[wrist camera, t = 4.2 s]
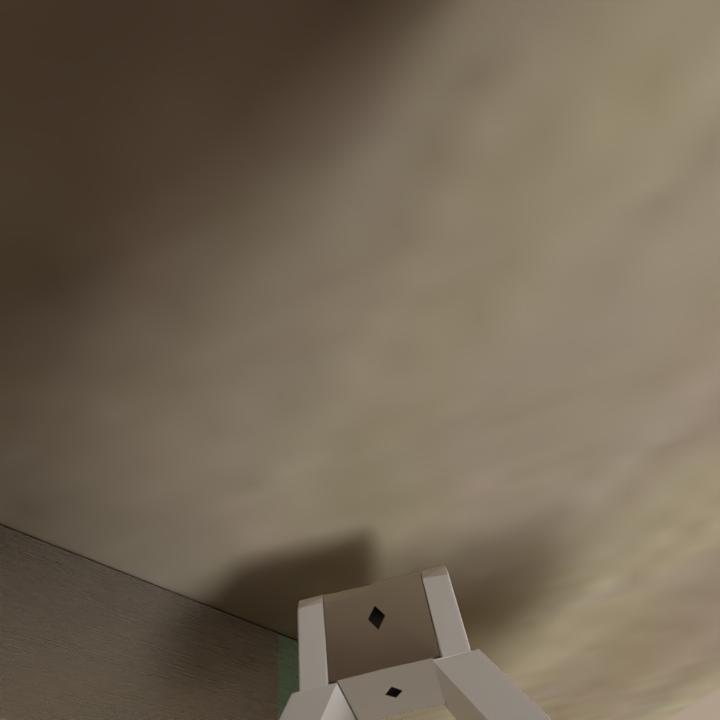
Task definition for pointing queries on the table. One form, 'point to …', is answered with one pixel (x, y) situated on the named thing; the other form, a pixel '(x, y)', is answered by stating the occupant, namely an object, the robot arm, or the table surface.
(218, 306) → the table surface
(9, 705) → the bar
